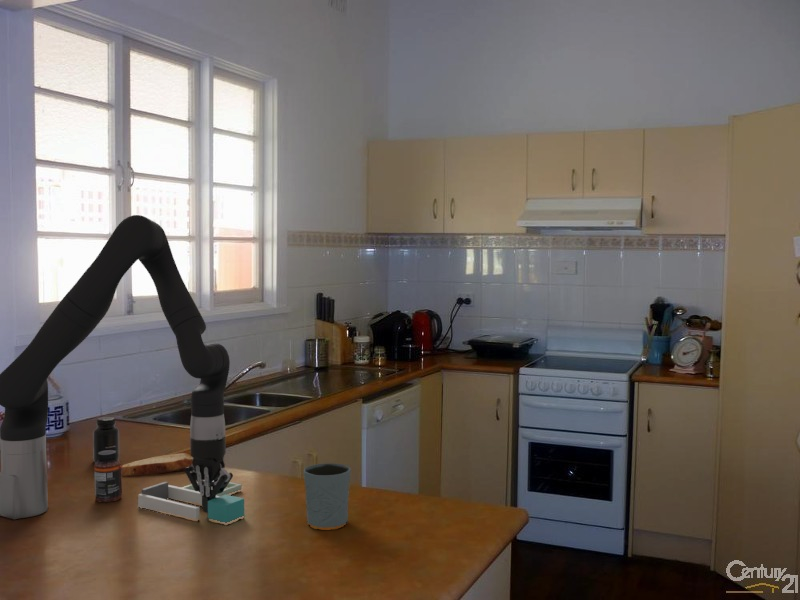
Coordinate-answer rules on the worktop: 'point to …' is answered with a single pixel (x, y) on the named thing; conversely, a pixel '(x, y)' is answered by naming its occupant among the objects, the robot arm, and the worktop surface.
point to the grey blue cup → (327, 494)
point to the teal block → (225, 508)
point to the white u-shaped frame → (159, 493)
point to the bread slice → (157, 464)
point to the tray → (231, 488)
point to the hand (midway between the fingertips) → (209, 511)
